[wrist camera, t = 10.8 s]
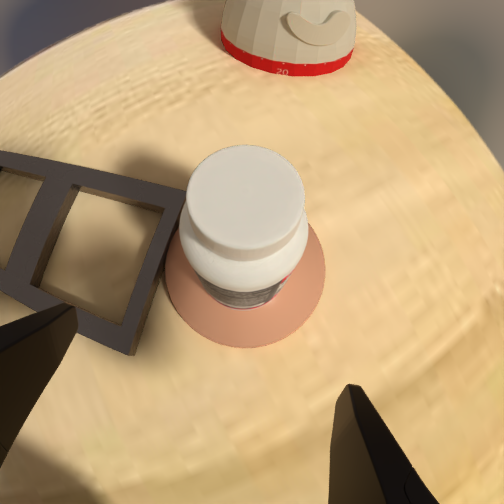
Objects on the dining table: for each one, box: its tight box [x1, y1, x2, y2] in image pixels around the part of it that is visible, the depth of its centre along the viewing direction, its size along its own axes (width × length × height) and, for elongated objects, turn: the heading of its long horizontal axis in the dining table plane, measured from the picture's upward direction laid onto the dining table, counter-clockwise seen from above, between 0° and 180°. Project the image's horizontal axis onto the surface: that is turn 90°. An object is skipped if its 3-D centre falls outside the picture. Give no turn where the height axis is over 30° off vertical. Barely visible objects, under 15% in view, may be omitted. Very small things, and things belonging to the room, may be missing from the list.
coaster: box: [165, 223, 325, 348], centre depth 20 cm, size 10×10×1 cm
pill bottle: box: [179, 145, 308, 311], centre depth 15 cm, size 5×5×10 cm
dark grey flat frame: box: [0, 150, 186, 356], centre depth 20 cm, size 11×22×1 cm, turn 74°
